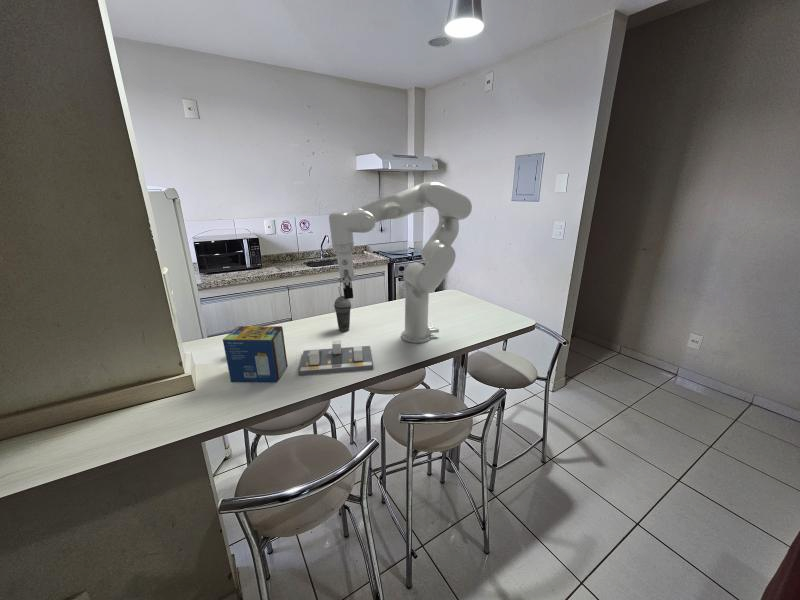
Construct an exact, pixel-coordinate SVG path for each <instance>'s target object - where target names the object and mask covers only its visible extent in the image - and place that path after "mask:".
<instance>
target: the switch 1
mask: <svg viewBox="0 0 800 600" xmlns="http://www.w3.org/2000/svg"><path fill="white" fill-rule="evenodd" d="M310 350H311V351H310V353H309V359H310V365H317V364H319V361H320V358H319V349H310Z"/></svg>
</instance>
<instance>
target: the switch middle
mask: <svg viewBox="0 0 800 600" xmlns="http://www.w3.org/2000/svg"><path fill="white" fill-rule="evenodd" d="M331 341H332V342H331V343H332V344H331V345H332V346H331V347H332V348H331V349H333V354H341V348H342V341H341V340H338V339H337V340H331Z"/></svg>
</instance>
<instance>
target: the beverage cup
mask: <svg viewBox="0 0 800 600" xmlns="http://www.w3.org/2000/svg"><path fill="white" fill-rule="evenodd" d="M338 293H339V296H338V297H337V298H336V299H335V300H334V304H333V306H334V311H335V314H336V321H337V327H338V331H339V332H341V333H346V332H349V331H350V325H351V322H350V321H351V309H352V305H351V300H350V299H344V295H342V294H341V288H340V286H338Z"/></svg>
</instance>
